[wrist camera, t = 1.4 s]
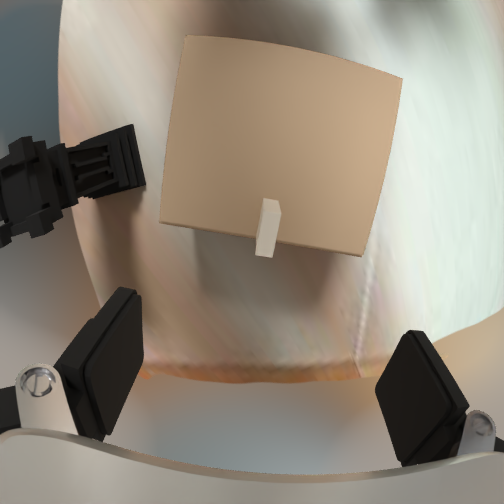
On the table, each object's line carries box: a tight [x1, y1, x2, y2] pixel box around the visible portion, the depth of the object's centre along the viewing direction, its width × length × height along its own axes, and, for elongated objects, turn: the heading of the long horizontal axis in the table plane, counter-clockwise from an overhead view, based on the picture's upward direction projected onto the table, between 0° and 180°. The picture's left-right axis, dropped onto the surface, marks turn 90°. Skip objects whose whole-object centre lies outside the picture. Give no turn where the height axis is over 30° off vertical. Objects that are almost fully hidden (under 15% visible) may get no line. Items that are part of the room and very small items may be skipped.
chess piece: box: [0, 124, 146, 248], centre depth 26 cm, size 8×8×20 cm
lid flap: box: [159, 35, 403, 258], centre depth 20 cm, size 16×18×5 cm
